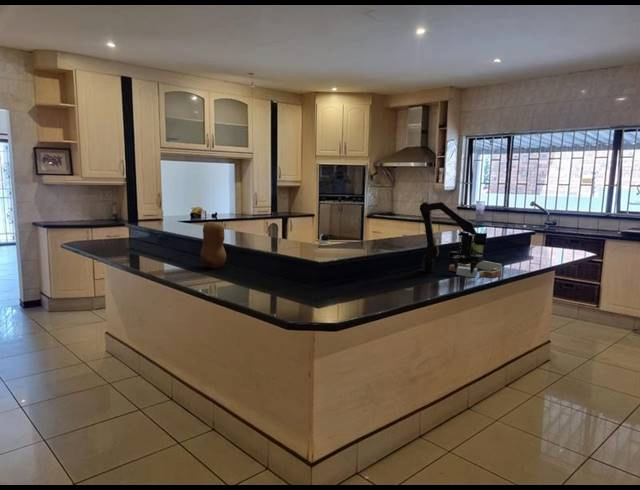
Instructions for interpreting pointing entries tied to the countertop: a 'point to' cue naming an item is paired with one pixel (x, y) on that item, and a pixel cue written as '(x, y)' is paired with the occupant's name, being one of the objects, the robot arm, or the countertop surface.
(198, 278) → the countertop surface
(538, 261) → the countertop surface
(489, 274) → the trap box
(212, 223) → the butternut squash
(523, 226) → the countertop surface
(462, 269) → the block
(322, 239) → the container
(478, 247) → the tea box
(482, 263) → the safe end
